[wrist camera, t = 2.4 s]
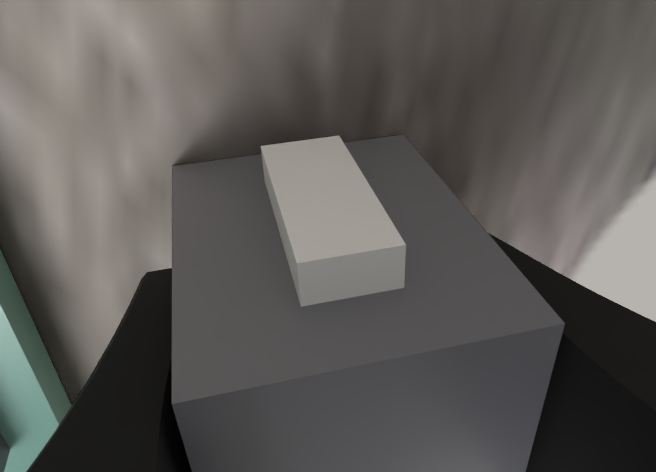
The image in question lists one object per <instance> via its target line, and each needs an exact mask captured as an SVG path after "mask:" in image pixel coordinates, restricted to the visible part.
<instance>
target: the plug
mask: <svg viewBox="0 0 656 472" xmlns="http://www.w3.org/2000/svg"><path fill="white" fill-rule="evenodd" d="M564 325H565V323H564V322H563V321H562V319H561V318H560V317H559V316H558V315H557V314H556V312H555V311H554V310H553V309H552V308H551V307H550V305H549V304H548V303H547V302H546V301H545V299H544V298H543V297H542V296H541V295H540V294H539V292H538V291H537V290H536V289H535V288H534V287H533V285H532V284H531V283H530V282H529V281H528V280H527V278H526V277H525V276H524V275H523V274H522V273H521V271H520V270H519V269H518V268H517V267H516V266H515V264H514V263H513V262H512V261H511V260H510V258H509V257H508V256H507V255H506V254H505V253H504V251H503V250H502V249H501V248H500V247H499V246H498V244H497V243H496V242H495V241H494V240H493V239H492V237H491V236H490V235H489V234H488V233H487V232H486V230H485V229H484V228H483V227H482V226H481V225H480V223H479V222H478V221H477V220H476V219H475V217H474V216H473V215H472V214H471V213H470V212H469V210H468V209H467V208H466V207H465V206H464V205H463V203H462V202H461V201H460V200H459V199H458V198H457V196H456V195H455V194H454V193H453V192H452V191H451V189H450V188H449V187H448V186H447V185H446V183H445V182H444V181H443V180H442V179H441V178H440V176H439V175H438V174H437V173H436V172H435V171H434V169H433V168H432V167H431V166H430V165H429V164H428V162H427V161H426V160H425V159H424V158H423V157H422V155H421V154H420V153H419V152H418V151H417V150H416V148H415V147H414V146H413V145H412V144H411V142H410V141H409V140H408V139H407V138H406V137H405V135H404V134H403V135H396V136H388V137H381V138H374V139H366V140H359V141H352V142H344V143H343V141H342V139H341V138H340V136H332V137H324V138H317V139H309V140H302V141H294V142H287V143H279V144H272V145H264V146H261V154H256V155H249V156H242V157H234V158H227V159H220V160H212V161H205V162H198V163H190V164H183V165H176V166H172V407H173V410H174V414H175V417H176V420H177V424H178V427H179V430H180V434H181V437H182V440H183V444H184V447H185V450H186V454H187V457H188V460H189V464H190V467H191V470H192V472H526V468H527V464H528V461H529V457H530V453H531V449H532V446H533V442H534V438H535V434H536V431H537V427H538V423H539V419H540V416H541V412H542V408H543V404H544V401H545V397H546V393H547V389H548V386H549V382H550V378H551V374H552V370H553V367H554V363H555V359H556V355H557V352H558V348H559V344H560V340H561V337H562V333H563V329H564Z"/></svg>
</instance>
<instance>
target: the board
mask: <svg viewBox="0 0 656 472" xmlns="http://www.w3.org/2000/svg"><path fill="white" fill-rule="evenodd" d="M70 407H71V403H70V401H69V399H68V397H67V395H66V392H65V390H64V388H63V386H62V384H61V381H60V379H59V377H58V375H57V373H56V370H55V368H54V366H53V364H52V362H51V359H50V357H49V355H48V353H47V351H46V348H45V346H44V344H43V342H42V340H41V337H40V335H39V333H38V331H37V329H36V326H35V324H34V322H33V320H32V318H31V315H30V313H29V311H28V309H27V307H26V304H25V302H24V300H23V298H22V296H21V293H20V291H19V289H18V287H17V285H16V282H15V280H14V278H13V276H12V274H11V271H10V269H9V267H8V265H7V263H6V260H5V258H4V256H3V254H2V252H1V249H0V472H26V471H27V470H28V468H29V467H30V466H31V464H32V463H33V462H34V460H35V459H36V458H37V456H38V455H39V453H40V452H41V451H42V449H43V448H44V446H45V445H46V443H47V442H48V441H49V439H50V438H51V436H52V435H53V433H54V432H55V430H56V429H57V427H58V426H59V424H60V423H61V421H62V420H63V418H64V417H65V415H66V414H67V412H68V410H69V409H70Z"/></svg>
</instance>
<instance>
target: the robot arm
mask: <svg viewBox="0 0 656 472" xmlns="http://www.w3.org/2000/svg"><path fill="white" fill-rule="evenodd" d="M488 234H489V233H488ZM489 235H490V236H491V237H492V239H493V240H494V241H495V242H496V243H497V244H498V246H499V247H500V248H501V249H502V250H503V251H504V253H505V254H506V255H507V256H508V257H509V258H510V260H511V261H512V262H513V263H514V264H515V266H516V267H517V268H518V269H519V270H520V271H521V273H522V274H523V275H524V276H525V277H526V278H527V280H528V281H529V282H530V283H531V284H532V285H533V287H534V288H535V289H536V290H537V291H538V292H539V294H540V295H541V296H542V297H543V298H544V299H545V301H546V302H547V303H548V304H549V305H550V307H551V308H552V309H553V310H554V311H555V312H556V314H557V315H558V316H559V317H560V318H561V319H562V321H563V322H564V323H565V325H564V329H563V333H562V337H561V340H560V344H559V348H558V352H557V355H556V359H555V363H554V367H553V370H552V374H551V378H550V382H549V386H548V389H547V393H546V397H545V401H544V404H543V408H542V412H541V416H540V419H539V423H538V427H537V431H536V434H535V438H534V442H533V446H532V449H531V453H530V457H529V461H528V464H527V468H526V472H656V322H655V321H652V320H650V319H648V318H646V317H644V316H641V315H639V314H637V313H635V312H633V311H631V310H629V309H627V308H625V307H623V306H621V305H619V304H617V303H615V302H613V301H611V300H609V299H607V298H605V297H603V296H601V295H599V294H597V293H595V292H593V291H591V290H589V289H587V288H585V287H584V286H582V285H580V284H578V283H576V282H574V281H572V280H571V279H569V278H567V277H565V276H563V275H561V274H560V273H558V272H556V271H554V270H552V269H551V268H549V267H547V266H545V265H543V264H542V263H540V262H538V261H536V260H535V259H533V258H531V257H529V256H528V255H526V254H524V253H522V252H521V251H519V250H517V249H515V248H514V247H512V246H510V245H509V244H507V243H505V242H503V241H502V240H500V239H498V238H496V237H495V236H493V235H491V234H489ZM26 472H192V470H191V467H190V464H189V460H188V457H187V454H186V450H185V447H184V444H183V440H182V437H181V434H180V430H179V427H178V424H177V420H176V417H175V414H174V410H173V407H172V268H170V269H164V270H158V271H152V272H147V273H146V274H145V275H144V277H143V278H142V279H141V281H140V283H139V285H138V288H137V290H136V292H135V294H134V296H133V298H132V300H131V302H130V305H129V307H128V309H127V311H126V313H125V315H124V317H123V318H122V320H121V322H120V324H119V326H118V328H117V330H116V332H115V334H114V336H113V337H112V339H111V341H110V343H109V344H108V346H107V348H106V350H105V352H104V353H103V355H102V357H101V359H100V360H99V362H98V364H97V366H96V367H95V369H94V371H93V373H92V374H91V376H90V378H89V379H88V381H87V383H86V384H85V386H84V387H83V389H82V390H81V392H80V393H79V395H78V397H77V398H76V400H75V401H74V403H73V404H72V406H71V407H70V409H69V410H68V412H67V414H66V415H65V417H64V418H63V420H62V421H61V423H60V424H59V426H58V427H57V429H56V430H55V432H54V433H53V435H52V436H51V438H50V439H49V441H48V442H47V443H46V445H45V446H44V448H43V449H42V451H41V452H40V453H39V455H38V456H37V458H36V459H35V460H34V462H33V463H32V464H31V466H30V467H29V468H28V470H27V471H26Z"/></svg>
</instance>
